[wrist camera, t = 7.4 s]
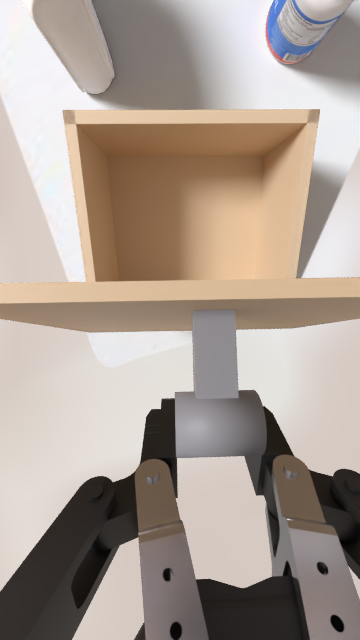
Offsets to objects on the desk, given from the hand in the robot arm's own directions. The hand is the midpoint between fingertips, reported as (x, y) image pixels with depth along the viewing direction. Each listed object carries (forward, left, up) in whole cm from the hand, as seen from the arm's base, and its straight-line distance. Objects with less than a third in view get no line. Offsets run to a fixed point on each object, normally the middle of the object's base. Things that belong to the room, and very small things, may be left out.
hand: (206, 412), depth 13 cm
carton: (-9, 0, -21) cm, 23 cm away
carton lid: (-4, 0, -4) cm, 6 cm away
